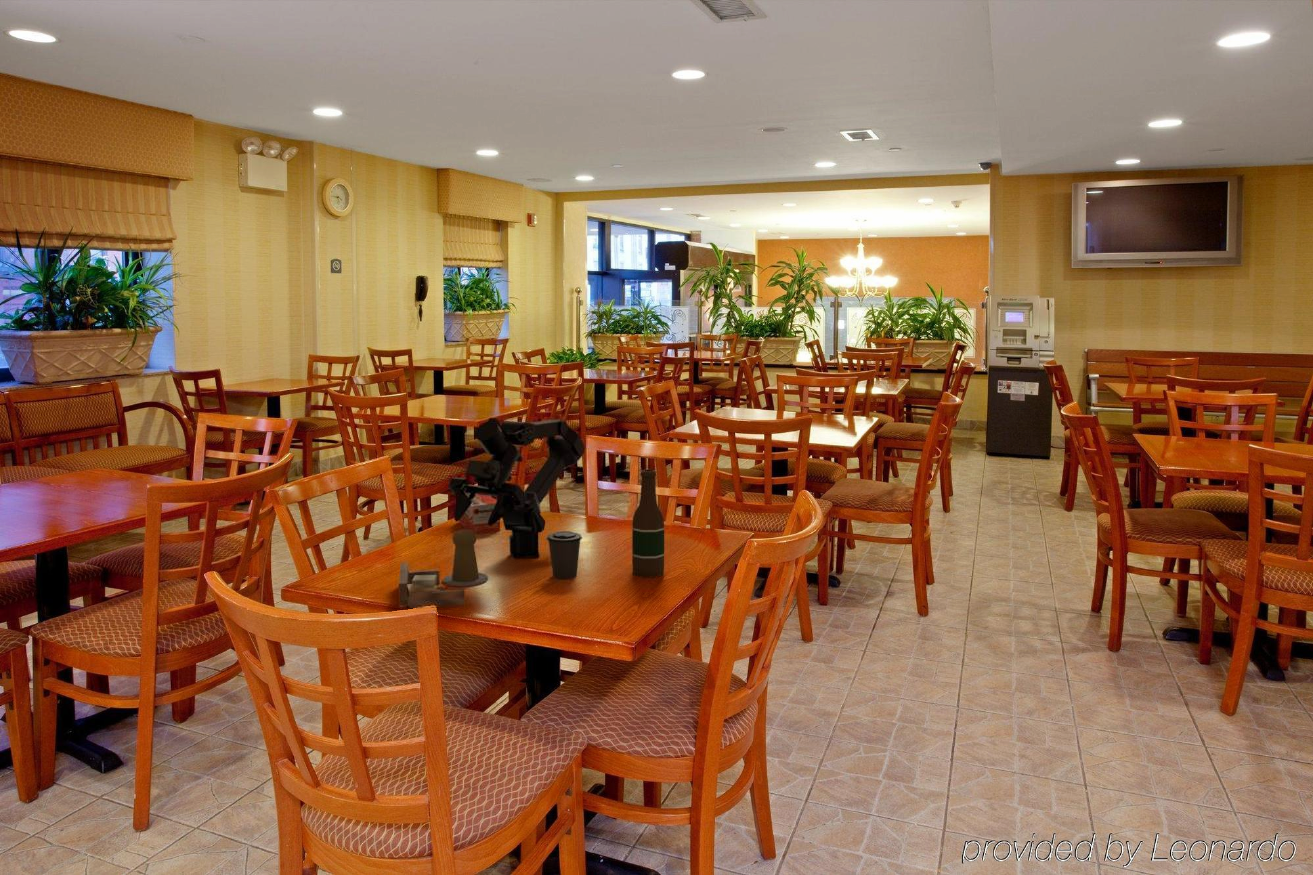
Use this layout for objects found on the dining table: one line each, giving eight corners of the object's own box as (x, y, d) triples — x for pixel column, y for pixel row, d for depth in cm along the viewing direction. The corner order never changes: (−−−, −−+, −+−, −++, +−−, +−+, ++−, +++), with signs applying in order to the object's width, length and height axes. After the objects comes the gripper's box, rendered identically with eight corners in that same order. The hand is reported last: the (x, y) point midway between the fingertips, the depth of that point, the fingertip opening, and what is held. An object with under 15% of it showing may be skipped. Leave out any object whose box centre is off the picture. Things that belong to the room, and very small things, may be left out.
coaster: (486, 572, 220) (486, 570, 220) (489, 585, 211) (489, 583, 211) (442, 575, 218) (442, 573, 218) (442, 588, 208) (442, 586, 208)
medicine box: (458, 522, 270) (457, 494, 268) (486, 519, 273) (485, 492, 272) (472, 534, 256) (471, 505, 255) (501, 531, 259) (501, 502, 258)
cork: (453, 574, 217) (452, 527, 216) (480, 574, 218) (479, 526, 216) (450, 582, 211) (448, 533, 210) (477, 581, 212) (476, 533, 210)
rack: (461, 580, 214) (461, 558, 213) (464, 605, 197) (464, 580, 196) (401, 584, 211) (400, 561, 210) (399, 609, 194) (398, 584, 193)
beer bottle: (669, 570, 223) (670, 468, 219) (658, 579, 216) (659, 474, 212) (638, 566, 225) (638, 466, 222) (626, 575, 218) (626, 472, 215)
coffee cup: (554, 582, 213) (554, 539, 211) (541, 573, 220) (541, 531, 218) (588, 578, 216) (588, 534, 215) (574, 568, 224) (574, 527, 222)
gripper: (451, 443, 222) (421, 499, 214) (518, 449, 213) (490, 507, 205) (473, 470, 230) (445, 525, 222) (538, 477, 221) (512, 534, 213)
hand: (472, 522), depth 215 cm, fingers open, 9 cm apart
